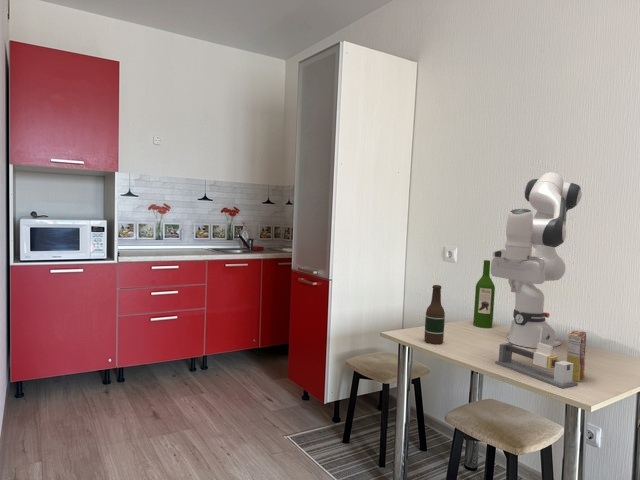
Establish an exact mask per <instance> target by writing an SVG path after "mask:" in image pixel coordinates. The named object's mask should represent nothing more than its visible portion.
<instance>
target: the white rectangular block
mask: <svg viewBox="0 0 640 480" xmlns="http://www.w3.org/2000/svg"><path fill="white" fill-rule="evenodd" d="M553 349H554V347H552V346H549V345H546V344H542V343H537V348H536V351H533V352H534V358H533V359H532V360H533V362H532V365H533V364H534V365H536V366H538V367H542V368H545V369H549V368H548V358H549V357H552V356H556V355H555V354H553Z"/></svg>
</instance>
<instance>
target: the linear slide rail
mask: <svg viewBox="0 0 640 480" xmlns="http://www.w3.org/2000/svg"><path fill="white" fill-rule="evenodd" d="M534 352H535V351H530V350H527V349H524V348H521V347H517V346H516V345H514V344H513V343H511V342H506V343H499V350H498V360H495V362H494V364H496V365H499V366H501V367H503V368H507V369H509V370H512V371H514V372H517V373H519V374H522V375H524V376H528V377H530V378H533V379H535V380H538V381H541V382H544V383H546V384H549V385H552V386H555V387H556V388H560V389H562V390H563V389H566V388H567V389H568V388H571V387H576V386H578V383H579V382H576V381H572V377H573V364H574V363H570V362H567V360H558V358H559V357H558V356H557V355H555V356H552V357H549V358H548V368H547V369H550V370H551V369H554V373H551V372H549V371H546V370H542V369H540V368H537V367H535V366H531V365H528V364H525V363H524V362H521V361H518V360H514V359H512V356H513V354H517V355H519V356H522V357H525V358H528V359H531V360H533V358H534Z"/></svg>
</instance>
